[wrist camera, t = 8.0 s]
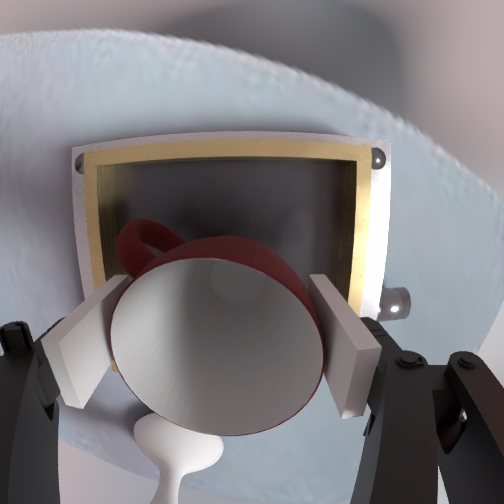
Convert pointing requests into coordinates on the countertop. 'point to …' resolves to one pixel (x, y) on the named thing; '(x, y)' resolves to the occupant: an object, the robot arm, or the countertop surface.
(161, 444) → the flower in vase
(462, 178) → the countertop surface
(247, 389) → the mug
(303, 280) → the gold rimmed tray box
